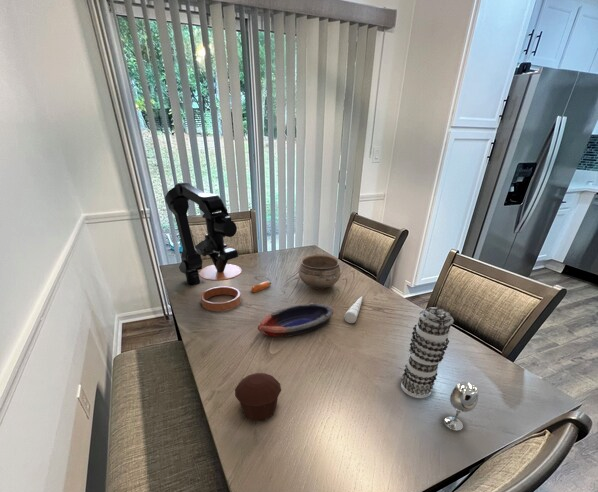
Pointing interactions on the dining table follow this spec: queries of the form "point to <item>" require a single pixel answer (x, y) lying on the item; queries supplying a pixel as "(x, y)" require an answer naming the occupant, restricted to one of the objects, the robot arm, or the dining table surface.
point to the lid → (217, 275)
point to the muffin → (258, 395)
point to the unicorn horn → (353, 311)
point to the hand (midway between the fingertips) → (220, 270)
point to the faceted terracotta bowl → (222, 305)
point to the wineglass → (461, 403)
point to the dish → (295, 320)
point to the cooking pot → (319, 270)
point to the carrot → (260, 286)
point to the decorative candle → (426, 351)
